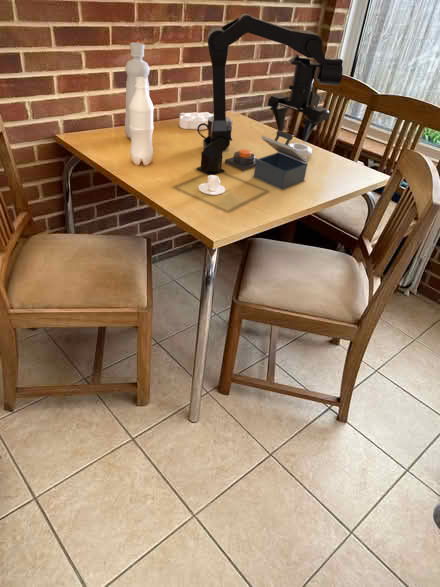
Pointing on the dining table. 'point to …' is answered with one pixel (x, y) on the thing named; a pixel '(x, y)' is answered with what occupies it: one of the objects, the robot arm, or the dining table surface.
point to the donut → (301, 149)
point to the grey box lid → (284, 146)
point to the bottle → (134, 78)
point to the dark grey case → (280, 170)
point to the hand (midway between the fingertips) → (292, 136)
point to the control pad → (241, 161)
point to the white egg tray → (194, 120)
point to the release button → (245, 153)
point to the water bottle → (141, 124)
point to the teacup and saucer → (212, 186)
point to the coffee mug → (211, 125)
